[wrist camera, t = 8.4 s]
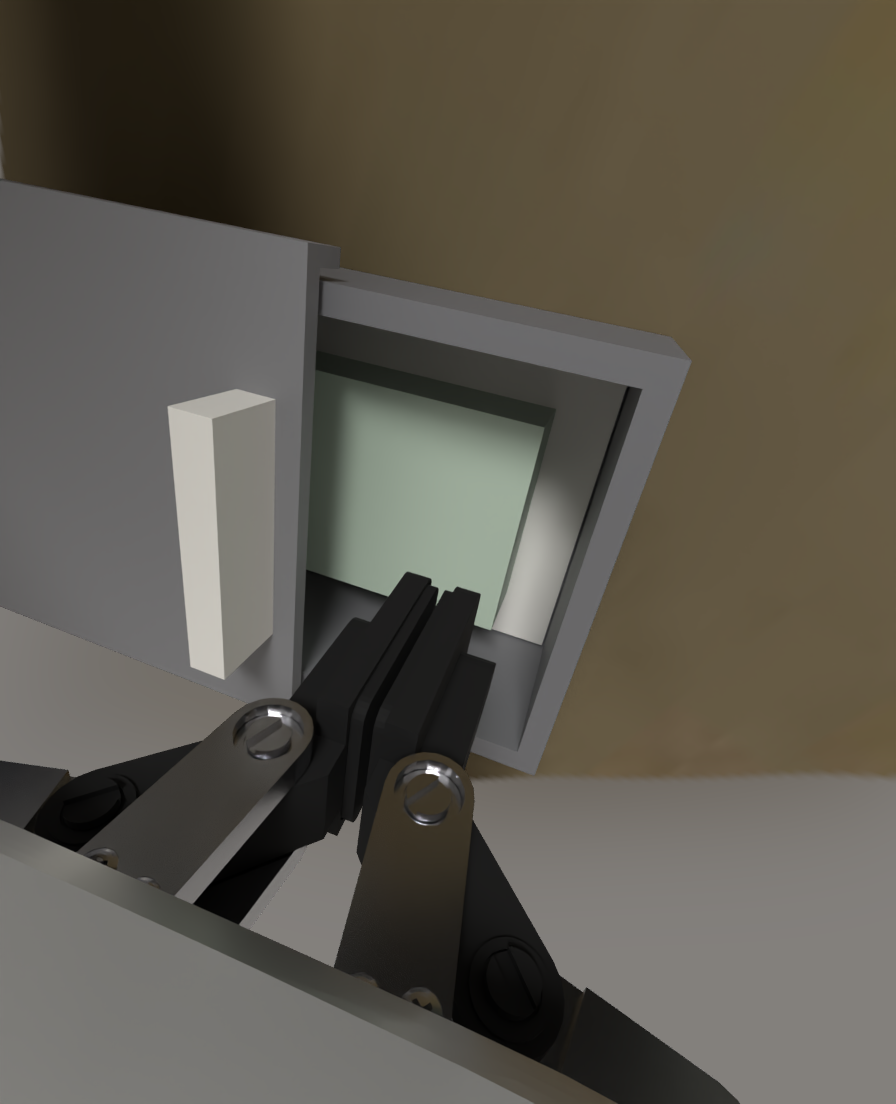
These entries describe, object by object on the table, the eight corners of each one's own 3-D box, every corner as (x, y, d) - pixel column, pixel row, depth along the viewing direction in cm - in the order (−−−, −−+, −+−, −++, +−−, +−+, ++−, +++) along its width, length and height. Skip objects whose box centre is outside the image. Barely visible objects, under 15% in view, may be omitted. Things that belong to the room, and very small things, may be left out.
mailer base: (209, 239, 21) (40, 219, 15) (671, 337, 18) (691, 360, 12) (222, 545, 28) (109, 615, 22) (558, 656, 24) (534, 775, 18)
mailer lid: (-179, 142, 17) (-392, 103, 13) (340, 247, 14) (239, 232, 10) (-43, 558, 24) (-156, 603, 21) (312, 692, 21) (249, 772, 18)
